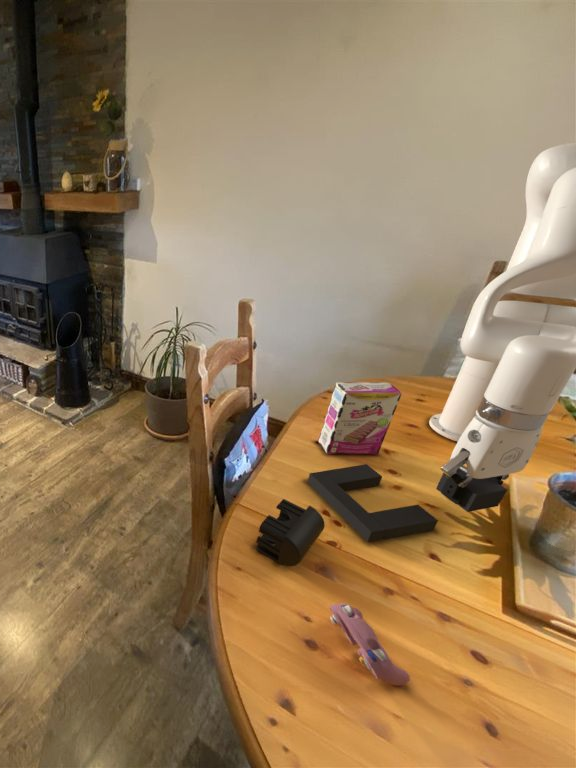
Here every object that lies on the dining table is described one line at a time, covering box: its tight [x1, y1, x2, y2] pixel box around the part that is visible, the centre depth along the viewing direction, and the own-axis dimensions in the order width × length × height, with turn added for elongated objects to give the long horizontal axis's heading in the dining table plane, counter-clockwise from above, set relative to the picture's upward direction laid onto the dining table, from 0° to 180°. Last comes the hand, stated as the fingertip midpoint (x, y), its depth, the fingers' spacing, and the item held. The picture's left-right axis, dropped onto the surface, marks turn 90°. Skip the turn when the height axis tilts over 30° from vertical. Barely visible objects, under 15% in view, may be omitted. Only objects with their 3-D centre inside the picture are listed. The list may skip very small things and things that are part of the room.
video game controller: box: [329, 602, 411, 687], centre depth 56 cm, size 10×5×7 cm, turn 5°
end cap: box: [255, 498, 326, 567], centre depth 72 cm, size 10×7×7 cm
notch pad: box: [307, 463, 439, 543], centre depth 80 cm, size 13×16×2 cm
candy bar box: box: [318, 381, 403, 455], centre depth 92 cm, size 11×5×16 cm, turn 84°
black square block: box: [435, 470, 508, 513], centre depth 74 cm, size 6×6×4 cm
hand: (467, 494), depth 75 cm, fingers closed on black square block, 6 cm apart
